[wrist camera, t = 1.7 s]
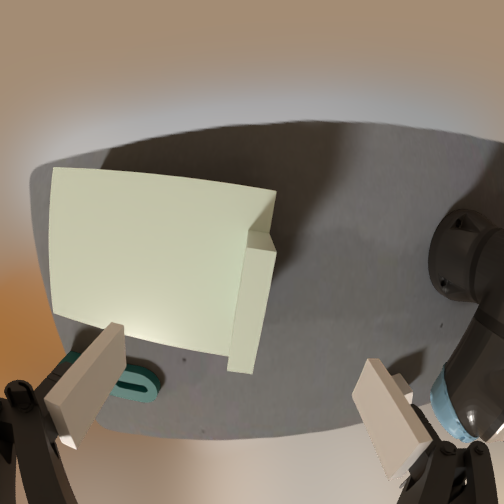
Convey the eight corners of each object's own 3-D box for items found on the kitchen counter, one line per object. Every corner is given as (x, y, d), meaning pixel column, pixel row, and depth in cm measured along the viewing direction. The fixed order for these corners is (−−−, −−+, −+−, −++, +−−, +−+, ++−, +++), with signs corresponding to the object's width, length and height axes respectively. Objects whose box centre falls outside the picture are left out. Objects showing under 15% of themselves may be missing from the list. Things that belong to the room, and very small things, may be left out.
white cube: (399, 372, 43) (413, 391, 37) (397, 394, 44) (409, 413, 38) (370, 383, 43) (381, 404, 37) (369, 404, 44) (380, 425, 38)
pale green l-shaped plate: (274, 190, 28) (287, 192, 18) (246, 346, 32) (244, 407, 22) (66, 167, 27) (5, 166, 17) (64, 305, 31) (16, 340, 21)
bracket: (79, 378, 43) (61, 401, 36) (71, 350, 42) (49, 372, 34) (162, 397, 43) (151, 427, 36) (158, 368, 42) (144, 398, 34)
